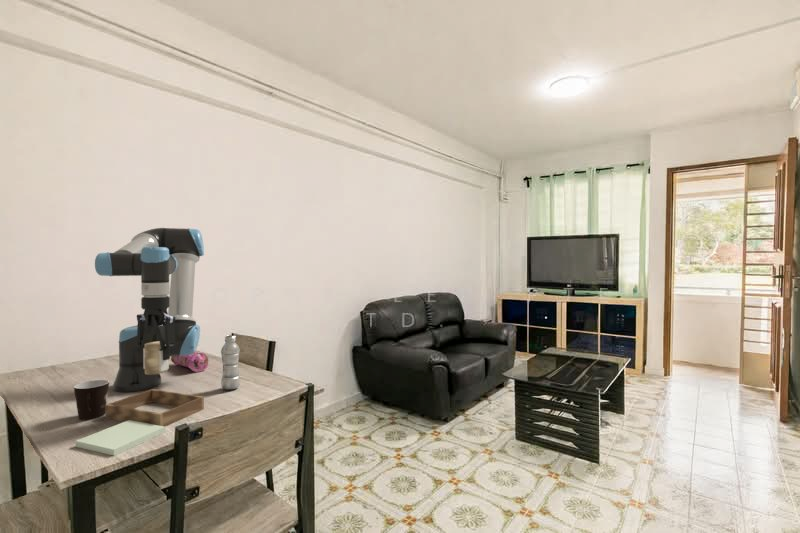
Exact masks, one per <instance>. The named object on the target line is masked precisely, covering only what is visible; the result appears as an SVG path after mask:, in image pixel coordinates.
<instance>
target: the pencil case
mask: <svg viewBox="0 0 800 533" xmlns="http://www.w3.org/2000/svg"><path fill="white" fill-rule="evenodd" d="M170 360H171V362H172V363H173V364H174V365H176V366H180V367H184V368H188V369H190V370H191V371H193V372H197V373H198V372H201V371H202V372H203V371H205V370H206V369H207V368H208V366H209V356H208V355H207V354H206V353H204V352H202V351H197V350H196V351H195V352H194V353H193V354H191V355H184V356H170Z"/></svg>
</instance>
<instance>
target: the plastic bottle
mask: <svg viewBox="0 0 800 533" xmlns="http://www.w3.org/2000/svg"><path fill="white" fill-rule="evenodd" d="M236 341H237V337H236V335H235V334H229V335H225V337H224V344H223V346H222V347H221V349H220V354H221V360H222V362H221V363H222V373H221V374H222V375H221V379H220V380H221V382H220V384H221V385H220V386H221V388H222V389H223V390H226V391H227V390H228V391H229V390H230V391H231V390H235V389H238V388H239V387H240V385H241V384H240V383H241V377H240V374H239V371H240V370H239V358H240V351H241V350H240V346H239V345H238V343H236Z"/></svg>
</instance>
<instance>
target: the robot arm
mask: <svg viewBox="0 0 800 533" xmlns="http://www.w3.org/2000/svg"><path fill="white" fill-rule="evenodd" d="M202 235H203V234H202V232H201V230H200V229H195V228H190V227H189V228H178V227H177V228H174V227H173V228H172V227H171V228H170V227H158V228H157V227H156V228H151V229H147V230H145V231H141V232H140V233H137V234H136V235H134V236H133V237H132V238H131V241H130V242H128V243H127V244H126V245H123V246H122V247H121V248H119V249H118V250H115V251H114V252H100V253H97V255H96V256H95V259H94V269H95V273H97V275H99V276H103V277H117V276H118V277H133V276H134V277H135V276H136V277H137V276H139V277H140V281H141V282H140V283H141V285H140V286H141V287H140V288H141V295H142V297H141V299H140V302H141V303H140V305H141V306H140V307H141V309H142V310H143V313H140V314H139V313H138V314H136V320H137V324H136V325H132V326H128V327H125V328H123V329H121V330H120V332H119V336H118V338H119V339H118V353H119V354H118V359H119V360H118V362H119V363H118V364H119V367H118V371H117V373H116V377H115V379H114V382H113V391H115V392H119V393H130V392H131V393H132V392H139V391H144V390H145V391H146V390H150V389H153V388H156V387H157V386H159V385H160V384H161V383H162V376H161V373H160V374H154V375H147V374H145V344H146V343H150V342H158V341H160V345H161V349H159V371H164V370H167V371H168V370H169V369H170V368H169V367H170V366H169V365H170V359H171V356H184V355H191V354H193V353H194V352H195V351H196V352H197V349H198V346H199V341H200V336H201V335H200V334H201V327H200V325H198V324H197V320H195V319H194V318H193V308H194V291H195V275H196V264H197V262H199V261H200V257H202V256H204V255H205V250H204V247H205V246H204V240H203V236H202ZM168 295H169V296H168ZM165 345H166V346H165Z"/></svg>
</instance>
